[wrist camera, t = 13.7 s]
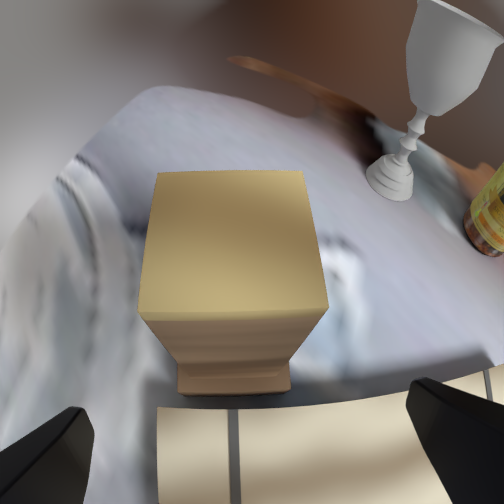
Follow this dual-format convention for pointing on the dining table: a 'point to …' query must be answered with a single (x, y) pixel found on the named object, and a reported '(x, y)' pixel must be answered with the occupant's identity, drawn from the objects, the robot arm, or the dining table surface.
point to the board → (304, 452)
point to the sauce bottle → (488, 217)
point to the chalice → (435, 81)
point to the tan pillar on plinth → (231, 278)
